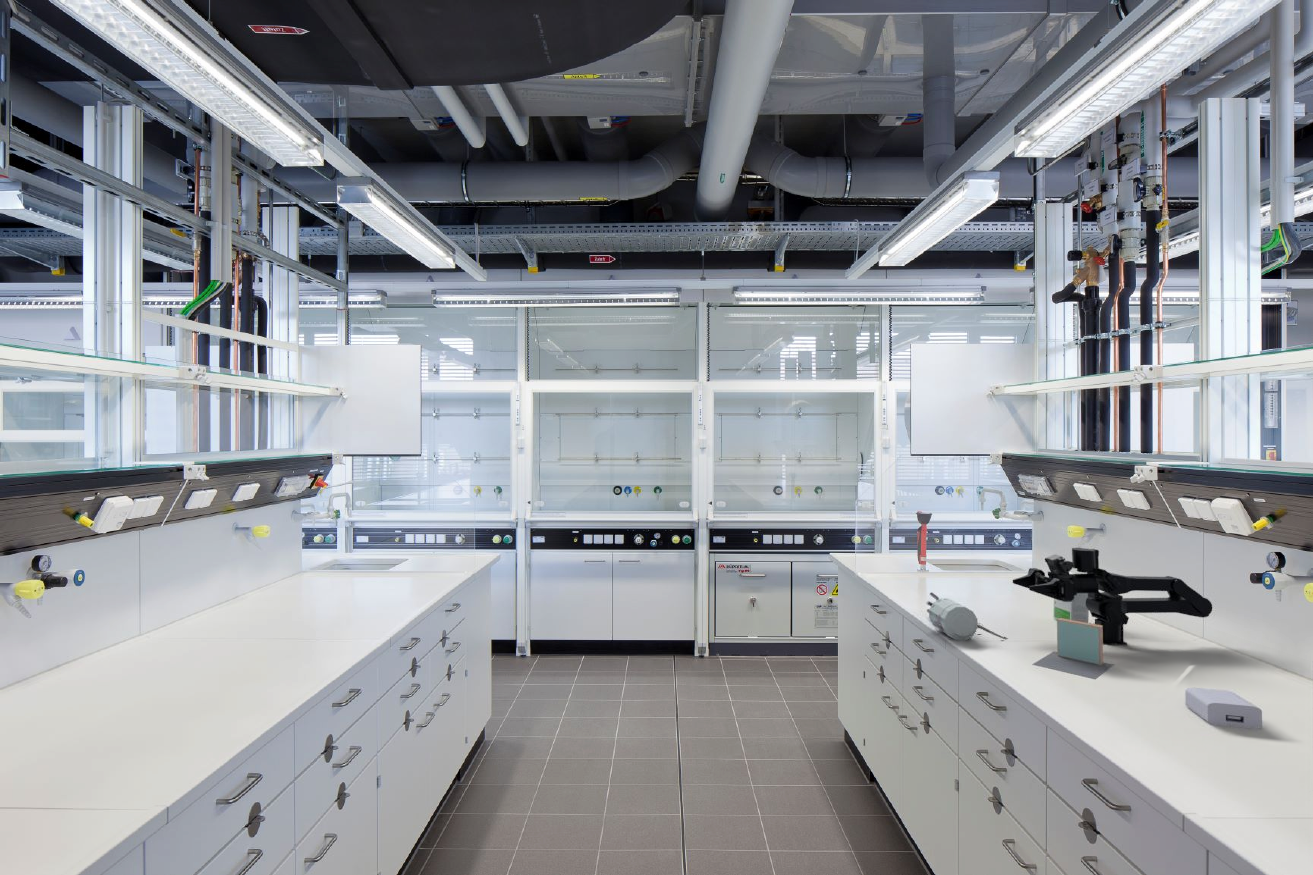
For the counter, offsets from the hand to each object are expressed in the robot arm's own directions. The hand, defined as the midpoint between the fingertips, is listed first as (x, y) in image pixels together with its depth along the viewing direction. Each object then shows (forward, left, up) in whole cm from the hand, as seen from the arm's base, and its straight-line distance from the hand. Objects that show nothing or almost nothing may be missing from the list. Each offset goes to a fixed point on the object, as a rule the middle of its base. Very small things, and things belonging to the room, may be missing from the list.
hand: (1021, 584), depth 188 cm
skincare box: (-26, -22, -17) cm, 38 cm away
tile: (-6, +18, -16) cm, 25 cm away
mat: (-2, +22, -17) cm, 28 cm away
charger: (-16, +49, -17) cm, 55 cm away
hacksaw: (+6, -8, -17) cm, 20 cm away
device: (+19, -13, -17) cm, 28 cm away
